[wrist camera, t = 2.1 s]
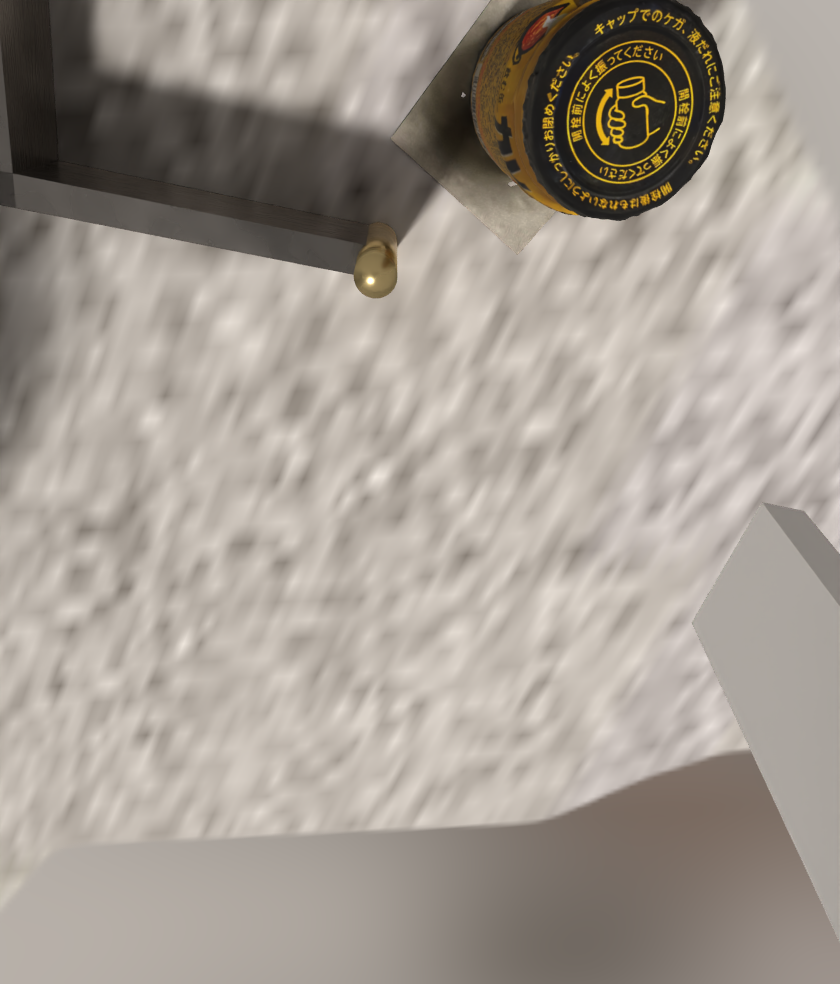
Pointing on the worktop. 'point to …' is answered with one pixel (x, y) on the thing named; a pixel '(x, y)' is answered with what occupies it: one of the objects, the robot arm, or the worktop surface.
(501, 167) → the condiment
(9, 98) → the grey open rectangular box
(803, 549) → the robot arm
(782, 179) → the worktop surface
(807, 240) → the worktop surface
